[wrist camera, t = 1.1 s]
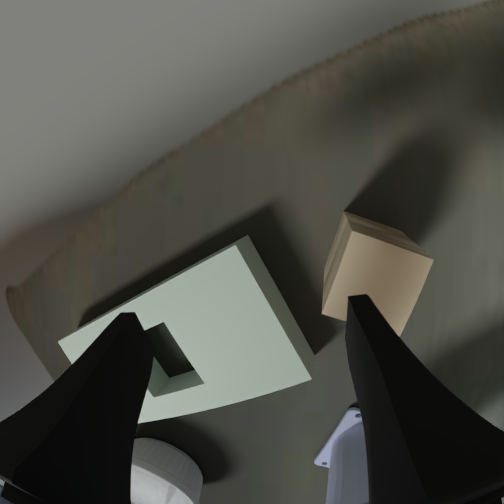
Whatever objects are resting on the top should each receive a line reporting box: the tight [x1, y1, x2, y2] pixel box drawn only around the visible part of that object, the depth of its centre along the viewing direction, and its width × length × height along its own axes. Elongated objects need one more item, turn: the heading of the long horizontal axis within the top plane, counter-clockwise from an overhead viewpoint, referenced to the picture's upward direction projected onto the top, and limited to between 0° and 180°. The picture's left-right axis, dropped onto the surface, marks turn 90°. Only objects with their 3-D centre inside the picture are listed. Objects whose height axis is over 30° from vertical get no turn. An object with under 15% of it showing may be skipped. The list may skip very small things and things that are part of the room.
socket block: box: [58, 235, 315, 423], centre depth 24 cm, size 20×10×3 cm, turn 120°
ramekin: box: [131, 438, 203, 504], centre depth 28 cm, size 11×11×5 cm
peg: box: [322, 211, 433, 337], centre depth 17 cm, size 4×4×7 cm
